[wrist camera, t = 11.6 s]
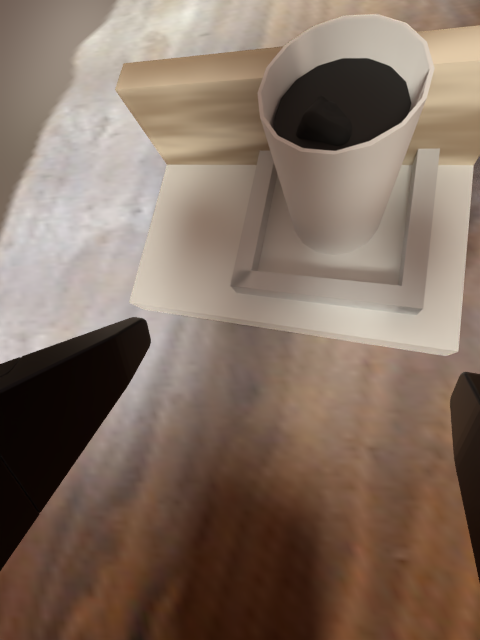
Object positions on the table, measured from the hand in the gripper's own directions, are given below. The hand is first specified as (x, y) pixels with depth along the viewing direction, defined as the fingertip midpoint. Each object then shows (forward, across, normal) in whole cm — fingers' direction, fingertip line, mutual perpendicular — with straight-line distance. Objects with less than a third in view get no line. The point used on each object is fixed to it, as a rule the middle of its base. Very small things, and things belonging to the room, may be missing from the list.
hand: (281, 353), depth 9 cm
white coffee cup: (+16, 0, 0) cm, 16 cm away
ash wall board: (+21, +3, -2) cm, 21 cm away
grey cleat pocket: (+16, +3, +3) cm, 17 cm away
